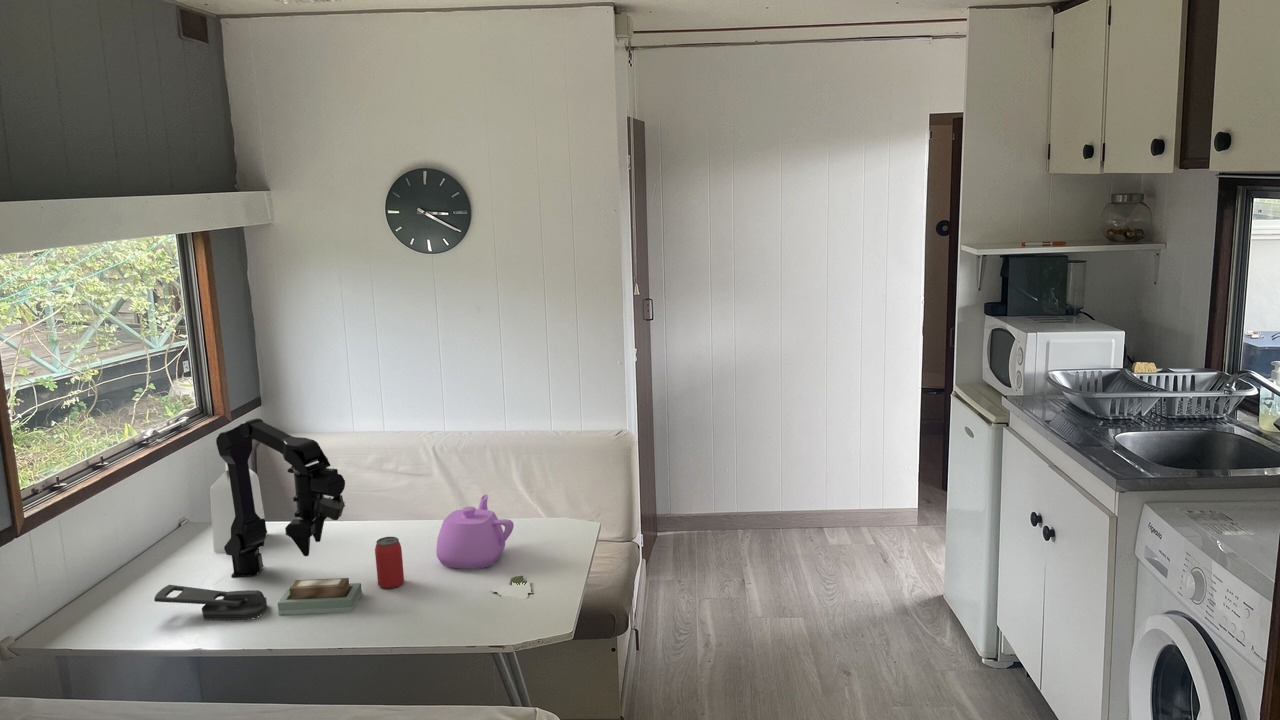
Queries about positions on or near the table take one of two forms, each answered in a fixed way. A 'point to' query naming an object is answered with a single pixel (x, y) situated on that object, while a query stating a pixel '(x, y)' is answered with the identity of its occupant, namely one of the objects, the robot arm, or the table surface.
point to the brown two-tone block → (320, 588)
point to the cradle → (320, 603)
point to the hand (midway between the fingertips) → (312, 548)
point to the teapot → (472, 537)
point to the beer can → (389, 562)
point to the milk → (229, 507)
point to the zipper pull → (218, 602)
